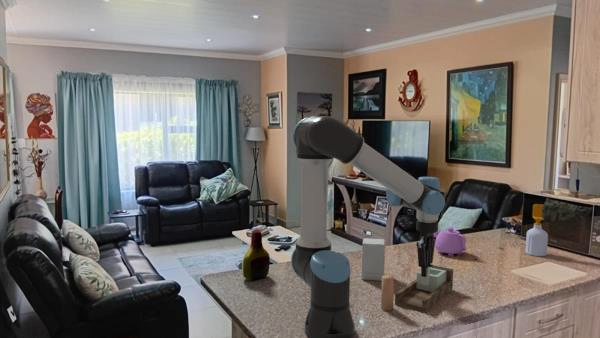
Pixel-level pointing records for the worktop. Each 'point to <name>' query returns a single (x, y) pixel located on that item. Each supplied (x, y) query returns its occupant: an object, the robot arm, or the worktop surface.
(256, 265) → the bottle
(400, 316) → the worktop surface
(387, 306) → the dowel
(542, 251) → the soap bottle
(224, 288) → the worktop surface
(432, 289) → the socket block
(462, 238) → the teapot
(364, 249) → the supplement box
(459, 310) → the worktop surface
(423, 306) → the brown long open box
